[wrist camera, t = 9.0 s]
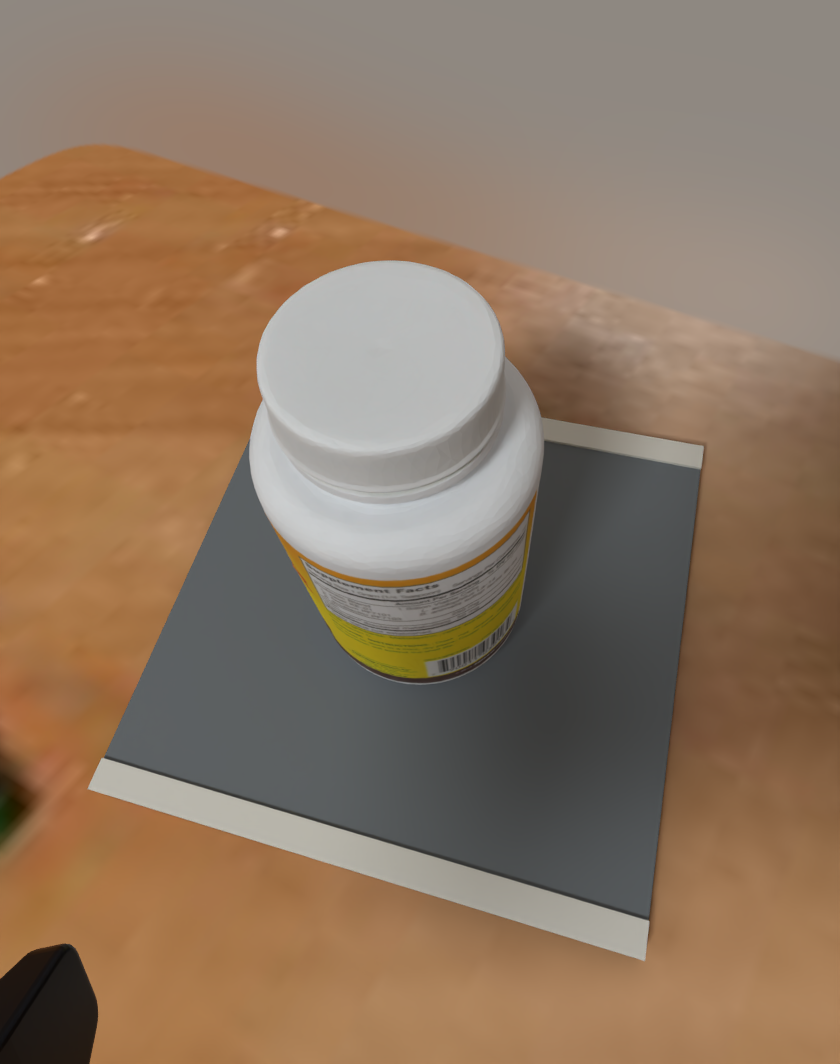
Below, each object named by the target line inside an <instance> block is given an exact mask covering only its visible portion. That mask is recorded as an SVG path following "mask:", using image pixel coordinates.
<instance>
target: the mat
mask: <svg viewBox="0 0 840 1064" xmlns="http://www.w3.org/2000/svg"><path fill="white" fill-rule="evenodd" d="M541 419H542V423H543V432H544V456H543V464H542V471H541V477H540V483H539V489H538V495H537V502H536V509H535V517H534V523H533V530H532V536H531V543H530V550H529V557H528V564H527V570H526V576H525V582H524V589H523V595H522V601H521V606H520V610H519V613H518V617H517V620H516V622H515V624H514V627H513V629H512V631H511V633H510V634H509V636H508V638H507V639H506V641H505V642H504V643H503V645H502V646H501V647H500V648H499V650H498V651H497V652H496V653H495V654H494V655H493V656H492V657H491V658H490V659H489V660H488V661H486V662H485V663H484V664H482V665H481V666H480V667H478V668H477V669H475V670H473V671H471V672H469V673H468V674H466V675H463V676H461V677H459V678H456V679H453V680H450V681H446V682H442V683H436V684H425V685H415V684H404V683H399V682H395V681H391V680H388V679H385V678H382V677H380V676H378V675H375V674H373V673H371V672H369V671H368V670H366V669H365V668H363V667H362V666H360V665H359V664H358V663H356V662H355V661H354V660H353V659H352V658H351V657H350V656H349V655H348V654H347V653H346V652H345V651H344V650H343V649H342V648H341V647H340V645H339V644H338V643H337V641H336V640H335V638H334V637H333V635H332V633H331V632H330V630H329V628H328V627H327V625H326V623H325V621H324V619H323V617H322V615H321V614H320V612H319V610H318V608H317V606H316V605H315V603H314V601H313V599H312V597H311V596H310V594H309V592H308V590H307V588H306V586H305V585H304V583H303V581H302V579H301V578H300V576H299V574H298V572H297V571H296V569H295V568H294V567H293V564H292V561H291V560H290V558H289V556H288V554H287V552H286V550H285V548H284V546H283V545H282V543H281V541H280V539H279V537H278V536H277V534H276V532H275V530H274V528H273V527H272V525H271V523H270V521H269V519H268V518H267V516H266V514H265V512H264V509H263V507H262V505H261V503H260V501H259V498H258V496H257V493H256V490H255V487H254V484H253V480H252V476H251V469H250V461H249V447H250V440H249V442H248V444H247V446H246V448H245V451H244V453H243V455H242V457H241V459H240V462H239V464H238V466H237V468H236V470H235V472H234V475H233V477H232V479H231V481H230V483H229V486H228V488H227V490H226V492H225V494H224V496H223V499H222V501H221V503H220V505H219V507H218V510H217V512H216V514H215V516H214V518H213V521H212V523H211V525H210V527H209V529H208V531H207V534H206V536H205V538H204V540H203V542H202V545H201V547H200V549H199V551H198V553H197V555H196V558H195V560H194V562H193V564H192V566H191V569H190V571H189V573H188V575H187V577H186V580H185V582H184V584H183V586H182V588H181V590H180V593H179V595H178V597H177V599H176V601H175V604H174V606H173V608H172V610H171V612H170V614H169V617H168V619H167V621H166V623H165V625H164V628H163V630H162V632H161V634H160V636H159V639H158V641H157V643H156V645H155V647H154V649H153V652H152V654H151V656H150V658H149V660H148V663H147V665H146V667H145V669H144V671H143V673H142V676H141V678H140V680H139V682H138V684H137V687H136V689H135V691H134V693H133V695H132V698H131V700H130V702H129V704H128V706H127V708H126V711H125V713H124V715H123V717H122V719H121V722H120V724H119V726H118V728H117V730H116V732H115V735H114V737H113V739H112V741H111V743H110V746H109V748H108V750H107V752H106V754H105V757H104V758H101V761H100V763H99V765H98V767H97V769H96V772H95V774H94V776H93V778H92V780H91V782H90V785H89V787H88V789H89V790H93V791H96V792H99V793H102V794H106V795H109V796H112V797H115V798H119V799H122V800H125V801H128V802H131V803H135V804H138V805H141V806H144V807H148V808H151V809H154V810H157V811H161V812H164V813H167V814H170V815H174V816H177V817H180V818H183V819H187V820H190V821H193V822H196V823H199V824H203V825H206V826H209V827H212V828H216V829H219V830H222V831H225V832H229V833H232V834H235V835H238V836H242V837H245V838H248V839H251V840H255V841H258V842H261V843H264V844H267V845H271V846H274V847H277V848H280V849H284V850H287V851H290V852H293V853H297V854H300V855H303V856H306V857H310V858H313V859H316V860H319V861H323V862H326V863H329V864H332V865H335V866H339V867H342V868H345V869H348V870H352V871H355V872H358V873H361V874H365V875H368V876H371V877H374V878H378V879H381V880H384V881H387V882H391V883H394V884H397V885H400V886H403V887H407V888H410V889H413V890H416V891H420V892H423V893H426V894H429V895H433V896H436V897H439V898H442V899H446V900H449V901H452V902H455V903H459V904H462V905H465V906H468V907H471V908H475V909H478V910H481V911H484V912H488V913H491V914H494V915H497V916H501V917H504V918H507V919H510V920H514V921H517V922H520V923H523V924H527V925H530V926H533V927H536V928H539V929H543V930H546V931H549V932H552V933H556V934H559V935H562V936H565V937H569V938H572V939H575V940H578V941H582V942H585V943H588V944H591V945H594V946H598V947H601V948H604V949H607V950H611V951H614V952H617V953H620V954H624V955H627V956H630V957H633V958H637V959H640V960H643V961H645V956H646V948H647V939H648V930H649V913H650V904H651V896H652V887H653V878H654V870H655V861H656V852H657V843H658V835H659V826H660V817H661V809H662V800H663V791H664V783H665V774H666V765H667V757H668V748H669V739H670V730H671V722H672V713H673V704H674V696H675V687H676V678H677V670H678V661H679V652H680V644H681V635H682V626H683V618H684V609H685V600H686V591H687V583H688V574H689V565H690V557H691V548H692V539H693V531H694V522H695V513H696V505H697V496H698V487H699V478H700V470H701V467H702V459H703V450H704V446H700V445H694V444H689V443H683V442H677V441H672V440H666V439H661V438H655V437H649V436H644V435H638V434H632V433H627V432H621V431H615V430H610V429H604V428H599V427H593V426H587V425H582V424H576V423H570V422H565V421H559V420H553V419H548V418H542V417H541Z"/></svg>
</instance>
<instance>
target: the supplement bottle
mask: <svg viewBox="0 0 840 1064" xmlns="http://www.w3.org/2000/svg"><path fill="white" fill-rule="evenodd" d="M257 378H258V384H259V388H260V392H261V394H262V397H263V401H262V403H261V405H260V407H259V409H258V411H257V414H256V418H255V421H254V424H253V428H252V433H251V437H250V447H249V461H250V469H251V476H252V480H253V484H254V487H255V490H256V493H257V496H258V498H259V501H260V503H261V505H262V507H263V509H264V512H265V514H266V516H267V518H268V519H269V521H270V523H271V525H272V527H273V528H274V530H275V532H276V534H277V536H278V537H279V539H280V541H281V543H282V545H283V546H284V548H285V550H286V552H287V554H288V556H289V558H290V560H291V561H292V564H293V567H294V568H295V569H296V571H297V572H298V574H299V576H300V578H301V579H302V581H303V583H304V585H305V586H306V588H307V590H308V592H309V594H310V596H311V597H312V599H313V601H314V603H315V605H316V606H317V608H318V610H319V612H320V614H321V615H322V617H323V619H324V621H325V623H326V625H327V627H328V628H329V630H330V632H331V633H332V635H333V637H334V638H335V640H336V641H337V643H338V644H339V645H340V647H341V648H342V649H343V650H344V651H345V652H346V653H347V654H348V655H349V656H350V657H351V658H352V659H353V660H354V661H355V662H356V663H358V664H359V665H360V666H362V667H363V668H365V669H366V670H368V671H369V672H371V673H373V674H375V675H378V676H380V677H382V678H385V679H388V680H391V681H395V682H399V683H404V684H415V685H425V684H436V683H442V682H446V681H450V680H453V679H456V678H459V677H461V676H463V675H466V674H468V673H469V672H471V671H473V670H475V669H477V668H478V667H480V666H481V665H482V664H484V663H485V662H486V661H488V660H489V659H490V658H491V657H492V656H493V655H494V654H495V653H496V652H497V651H498V650H499V648H500V647H501V646H502V645H503V643H504V642H505V641H506V639H507V638H508V636H509V634H510V633H511V631H512V629H513V627H514V624H515V622H516V620H517V617H518V613H519V610H520V606H521V601H522V595H523V589H524V582H525V576H526V570H527V564H528V557H529V550H530V543H531V536H532V530H533V523H534V517H535V509H536V502H537V495H538V489H539V483H540V477H541V471H542V464H543V456H544V432H543V423H542V419H541V414H540V411H539V408H538V405H537V402H536V400H535V397H534V395H533V393H532V391H531V389H530V387H529V386H528V384H527V382H526V381H525V379H524V378H523V376H522V375H521V374H520V372H519V371H518V370H517V368H516V367H515V366H514V365H513V364H512V363H511V362H510V361H509V360H508V359H507V358H506V357H505V345H504V338H503V334H502V330H501V327H500V324H499V321H498V319H497V317H496V315H495V313H494V311H493V310H492V308H491V306H490V305H489V304H488V303H487V301H486V300H485V299H484V298H483V297H482V296H481V295H480V294H479V293H478V292H477V291H476V290H475V289H474V288H472V287H471V286H470V285H469V284H468V283H466V282H465V281H463V280H462V279H460V278H458V277H456V276H454V275H452V274H450V273H449V272H446V271H444V270H441V269H438V268H435V267H431V266H428V265H424V264H419V263H414V262H407V261H374V262H366V263H360V264H356V265H351V266H347V267H344V268H341V269H338V270H335V271H332V272H330V273H328V274H326V275H324V276H321V277H319V278H318V279H316V280H314V281H312V282H311V283H309V284H307V285H305V286H304V287H302V288H301V289H300V290H299V291H297V292H296V293H295V294H294V295H292V296H291V297H290V298H289V299H288V300H287V301H286V302H284V304H283V305H282V306H281V307H280V308H279V309H278V311H277V312H276V313H275V315H274V316H273V317H272V319H271V320H270V322H269V323H268V325H267V327H266V329H265V331H264V332H263V335H262V338H261V341H260V344H259V350H258V354H257Z"/></svg>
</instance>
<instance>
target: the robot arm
mask: <svg viewBox="0 0 840 1064" xmlns="http://www.w3.org/2000/svg"><path fill="white" fill-rule="evenodd" d="M97 1022H98V1005H97V1000H96V996H95V994H94V991H93V989H92V986H91V984H90V981H89V979H88V977H87V974H86V972H85V969H84V967H83V964H82V962H81V959H80V957H79V954H78V952H77V951H76V949H75V948H74V947H73V946H72V945H70V944H59V945H55V946H50V947H45V948H40V949H36V950H34V951H31V952H30V953H28V954H27V955H26V956H24V957H23V958H22V959H21V960H20V961H19V962H18V963H17V964H16V965H15V966H14V967H13V968H12V969H10V970H9V971H8V972H7V973H6V974H5V975H4V976H3V977H2V978H1V979H0V1064H89V1063H90V1058H91V1053H92V1048H93V1043H94V1038H95V1033H96V1028H97Z"/></svg>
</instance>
